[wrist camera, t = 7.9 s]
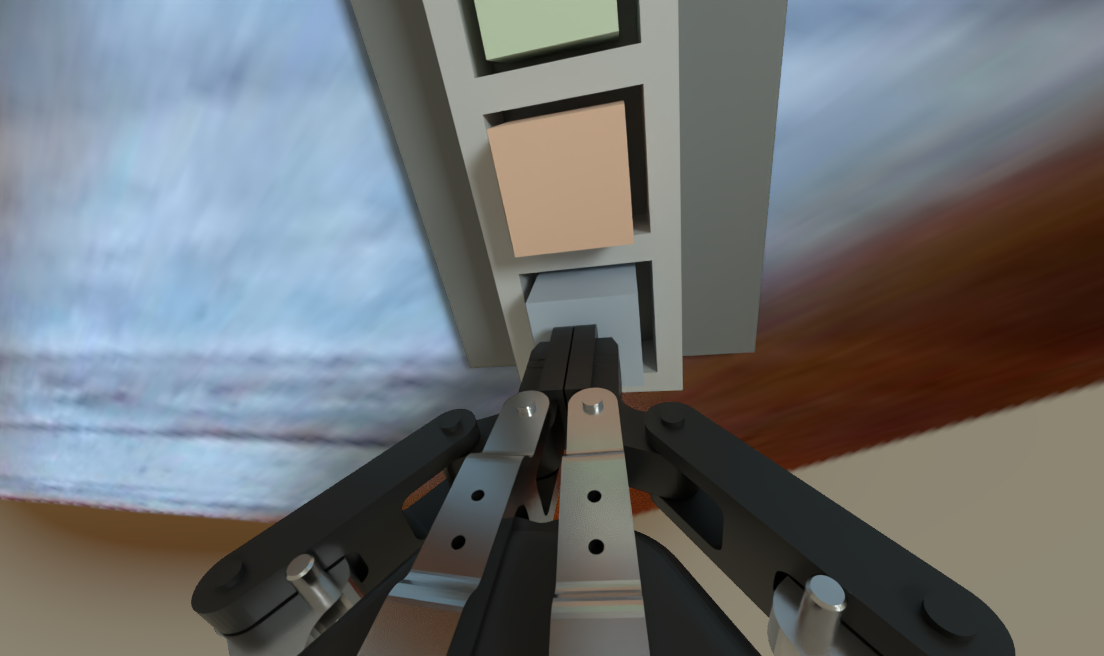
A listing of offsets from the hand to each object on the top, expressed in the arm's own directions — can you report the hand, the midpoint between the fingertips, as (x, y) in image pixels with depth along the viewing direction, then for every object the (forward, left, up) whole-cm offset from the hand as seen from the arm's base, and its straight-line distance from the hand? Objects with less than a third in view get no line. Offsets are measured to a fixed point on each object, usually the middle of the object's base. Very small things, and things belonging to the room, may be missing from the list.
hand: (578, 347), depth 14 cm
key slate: (0, 0, -3) cm, 3 cm away
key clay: (0, -5, -3) cm, 6 cm away
